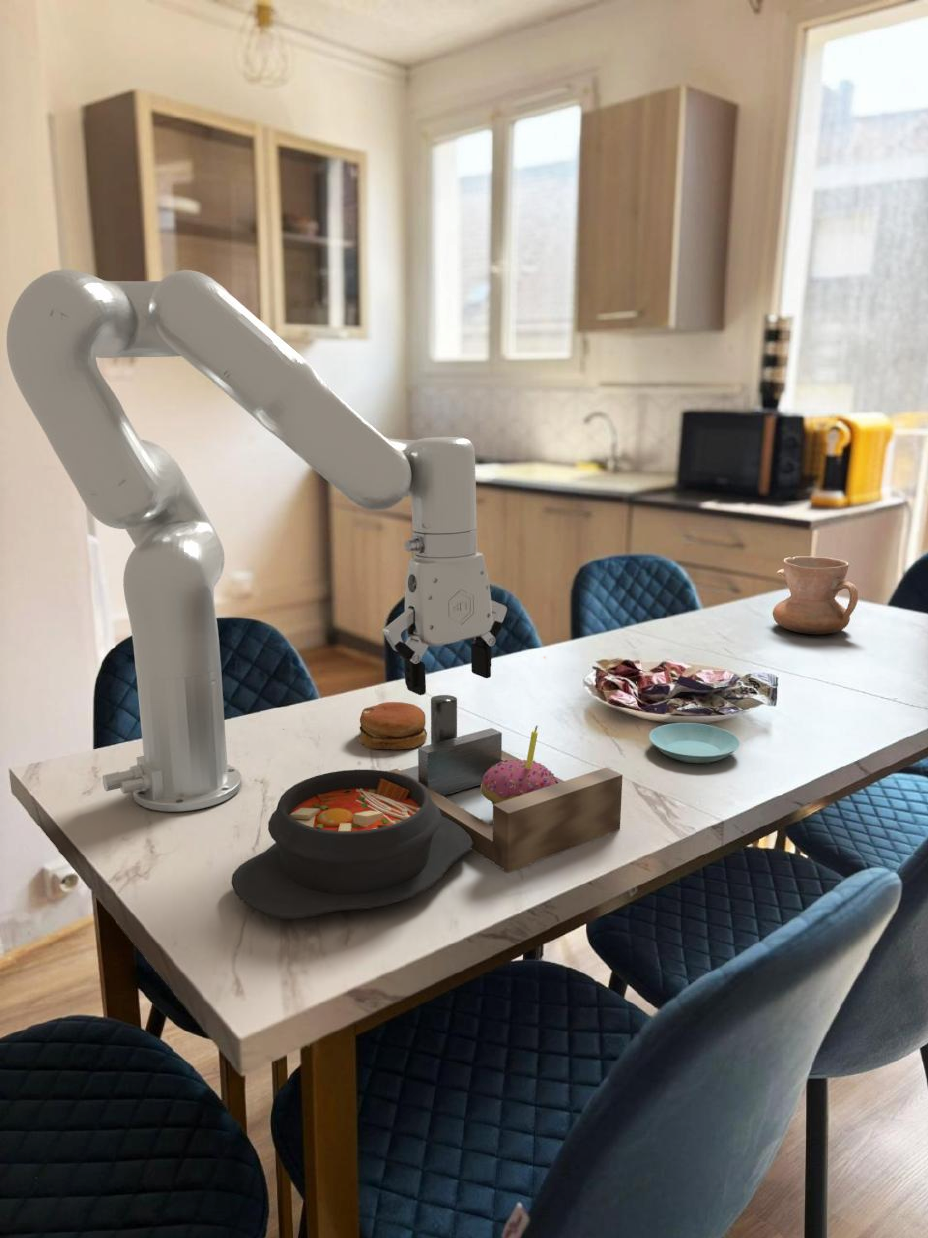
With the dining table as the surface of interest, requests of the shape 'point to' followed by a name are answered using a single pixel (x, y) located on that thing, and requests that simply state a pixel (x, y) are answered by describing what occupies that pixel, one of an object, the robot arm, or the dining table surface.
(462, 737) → the ram
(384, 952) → the dining table surface
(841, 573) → the ceramic jug
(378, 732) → the burger
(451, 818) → the press bed
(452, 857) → the casserole
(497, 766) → the cupcake
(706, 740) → the saucer
